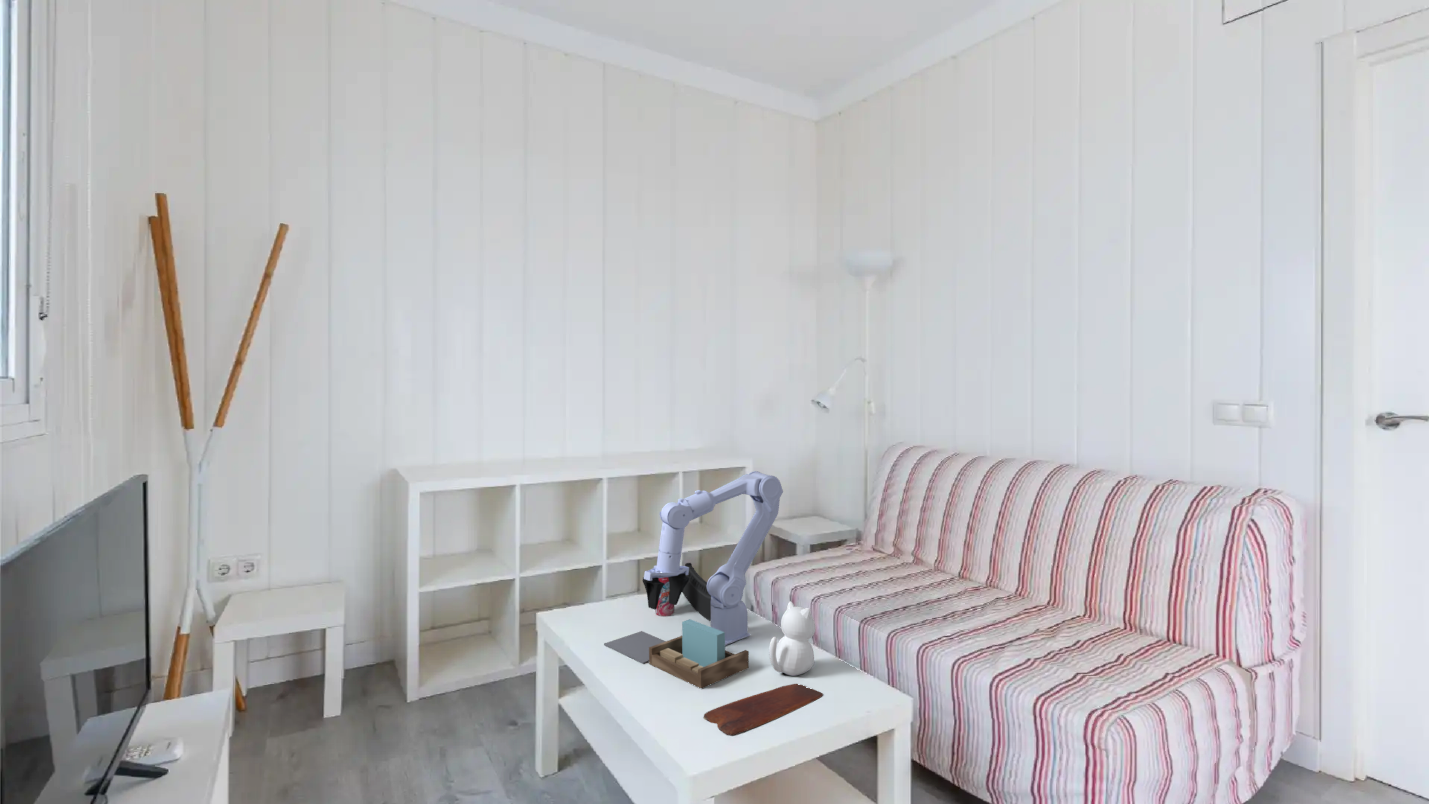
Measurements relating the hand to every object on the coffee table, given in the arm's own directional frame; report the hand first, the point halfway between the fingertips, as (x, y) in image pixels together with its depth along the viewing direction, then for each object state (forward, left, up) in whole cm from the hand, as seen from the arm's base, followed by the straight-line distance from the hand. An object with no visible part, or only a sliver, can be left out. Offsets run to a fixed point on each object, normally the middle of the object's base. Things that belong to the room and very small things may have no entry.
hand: (662, 606), depth 173 cm
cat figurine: (-13, +31, -11) cm, 35 cm away
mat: (+3, -4, -11) cm, 12 cm away
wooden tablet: (+4, +38, -12) cm, 40 cm away
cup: (-17, -19, -11) cm, 28 cm away
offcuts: (+5, +14, -11) cm, 18 cm away
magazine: (-25, -13, -11) cm, 31 cm away
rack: (+1, +14, -11) cm, 17 cm away
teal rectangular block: (-1, +14, -11) cm, 17 cm away
